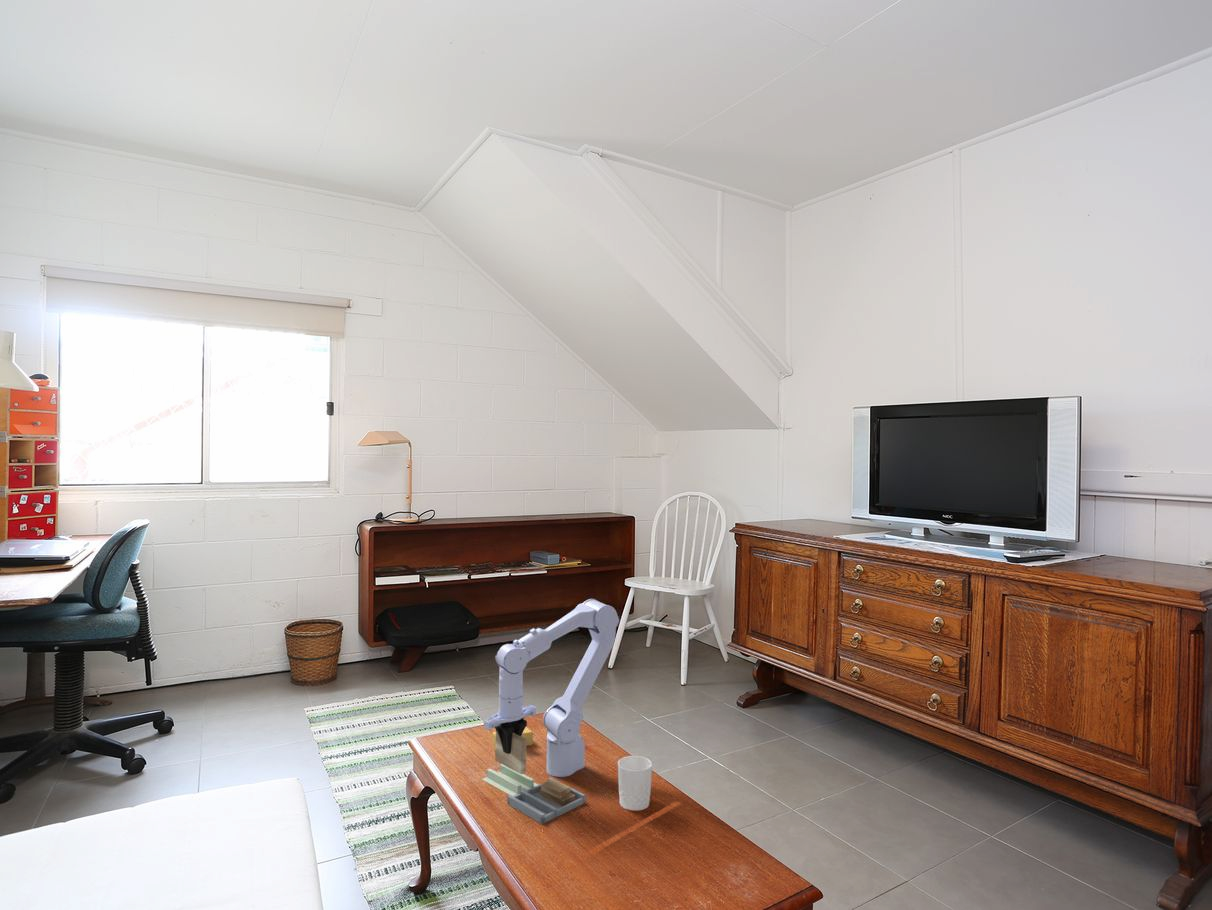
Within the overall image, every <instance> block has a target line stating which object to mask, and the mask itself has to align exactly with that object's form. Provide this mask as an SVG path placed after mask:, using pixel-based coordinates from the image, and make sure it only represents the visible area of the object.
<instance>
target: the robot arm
mask: <svg viewBox="0 0 1212 910" xmlns="http://www.w3.org/2000/svg"><path fill="white" fill-rule="evenodd" d="M619 622H620V619H619V616H618V612H617V611H616V609H615V608H614V607H613V606H611V605H609V604H606V603H603V602H600V601H599V600H597V599H595V598H589V599H587V600H585V601H583V602H582V603H579V604H577V606H575V608H574V609H572V610H571V611H570V612H568V613H567V614H566V615H564V616H562V617H561V618H560V619H558V620H556V621H555V622H553V623H552V624H551V625H549V626H548V627H546V628H545V629H543V628H540V627H537V628H536V629H535V628H534V627H533V628H532V629H530V630H529V633H527V634H525V635H524V636H522V637H521V638H519V639H514V640H513V641H512V643H506V644H503V645H502V646H501V647H500V648H499V650H498V651H497V653H496V655H495V657H494V658H495V662H496V664H497V665H498V666H499V667H498V669H499V673H498V675H499V677H498V710H497V713H495V714H493V715H492V716H491V717H489V718H487V719H484V720H483V729H484V730H487V731H489V732H490V731H491V730H493V729H495V731H497V733H498V735H499V737H500V740H501V744H502V748H503V752H505V753H507V754H510V753H511V742H512V735H513V733H515V734H517V735H519V736H521V735H522V733H523V731H524V729H525V727H527V725H528V721H527V720H525V719H524V718H526V717H529V716H536V715H537V707H536V706H534V705H532V704H530V705H526V706H523V705H524V704H523V702H524V700H523V695H524V694H523V689H524V686H523V685H524V684H523V683H524V682H523V681H524V679H523V678H524V674H523V673H524V670H525V668H526V667H527V664H528V663H529V662H531V661H532V660H533V659H535V658H537V657H538V656H539V655H541V654H543V653H544V652H546V651H548V650H549V649H550V648H551V646H552V643H553V641H555V640H557V639H559V638H561V637H563V636H564V635H566V634H568V633H570V632H572V631H574V630H576V629H577V628H586V629H587V628H588V631H589V634H590V636H591V642H590V644H589V645H588V648H587V649H586V651H585V653H584V655H583V658H582V659H581V660H580V663H579V665H578V667H577V669H576V670H575V673H574V674H573V676H572V678H571V680H570V681H569V684H568V686H567V687H566V690H565V691H564V694H563V695H562V696H560V697H557V698H556V699H555V700H554V702H553V703H552V705H551V706H549V707H548V709H547V710H546V711H545V712H544V713H543V717H542V722H543V725H544V728H545V729H546V730H547V732H546V734H547V735H546V773H547V774H548V775H550V776H553V777H555V778H565V777H569V776H571V775H573V774H574V773H576V772H578V771H580V770H582V769H584V768H585V765H586V764H585V762H586V760H585V753H586V752H585V751H586V748H585V741H584V738H583V736H581V734H580V731H581V725H582V722H583V720H584V712H583V706H584V703H585V701H586V699H587V697H588V695H589V693H590V691H591V689H592V688H593V686H594V684H595V682H596V681H597V678H598V676H599V674H600V672H601V670H602V668H603V667H604V664H605V663H606V661H607V658H608V656H609V655H610V653H611V651H612V649H613V647H614V644H615V642H616V632H617V627H618V625H619Z"/></svg>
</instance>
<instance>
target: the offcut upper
mask: <svg viewBox="0 0 1212 910" xmlns="http://www.w3.org/2000/svg"><path fill="white" fill-rule="evenodd" d="M557 781H558V780H557ZM557 781H554V780H552V779H550V780H549V781H548V780H546V781H545V782H542V783H543V784H542V783H540V784H541V791H544V792H546V793H548V794H551V795H553V796H555V797H558V798H562V797H564V796H566V795H567V794H569V793H570V787H571V786H569V785H567V784H565V785H564V783H563V784H562V782H561V783H559V782H560V781H559V782H557Z"/></svg>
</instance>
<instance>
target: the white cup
mask: <svg viewBox="0 0 1212 910" xmlns="http://www.w3.org/2000/svg"><path fill="white" fill-rule="evenodd" d="M652 769H653V763H652V760H650V759H648V758H647V757H645V756H640V755H628V756H624V757H621V758H620V759H618V760H617V781H618V782H617V783H618V794H619V795H618V797H619V804H620V806H621V807H622V808H623V809H625V810H627V811H642V810H645V809H647V808H649V805H650V802H651V801H650V800H651V799H650V797H651V792H652V791H651V790H652V789H651V788H652V775H653V774H652V771H653V770H652Z"/></svg>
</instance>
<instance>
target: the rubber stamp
mask: <svg viewBox="0 0 1212 910" xmlns="http://www.w3.org/2000/svg"><path fill="white" fill-rule="evenodd" d="M521 737H523V738H525V739H527V745H526V747H528V746H532V745H534V732H533V731H532V730H531V729H530V728H528V727H527V726H526V727H525V729H524V731H523V733H522V735H521ZM491 746H492V747H493V748H494V749H495V747H496V730H495V731H492V733H491Z"/></svg>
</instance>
